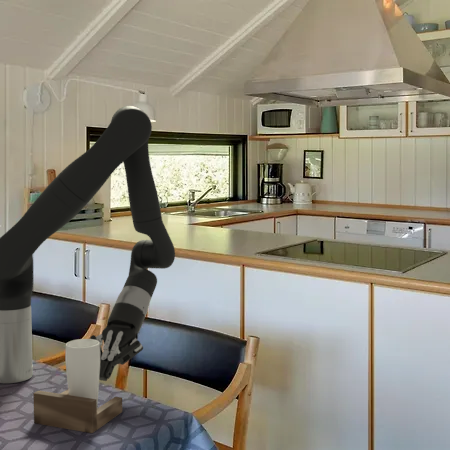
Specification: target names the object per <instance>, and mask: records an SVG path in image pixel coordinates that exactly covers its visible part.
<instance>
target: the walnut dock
mask: <svg viewBox="0 0 450 450" xmlns="http://www.w3.org/2000/svg"><path fill="white" fill-rule="evenodd" d="M32 395H33V398H32V399H33V423H34V424H38V425H42V426H49V427H54V428H60V429H64V430H65V429H67V430H70V431H76V432H83V433H87V434H88V433H89V434H93V433H95V432H97V431H98V430H99V429H101V428H102V427H103V426H105V425H106V424H108V422H110V421H112V420H113V419H114V418H116V417H118V416H119V415H120V414H121V413H123V397H120V396H114V397H112V398H111V399H109V400H108V401H106V402H105V403H103V404H102V405H100V406H99V407H98V408H97V406H98V404H97V399H91V398H85V397H78V396H72V395H69V391H68V388H67V389H66V390H64V391H62V392H60V393H58V392H57V393H56V392H51V391H45V390H44V391H43V390H37V391H35V392H33V394H32Z"/></svg>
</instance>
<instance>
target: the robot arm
mask: <svg viewBox="0 0 450 450" xmlns="http://www.w3.org/2000/svg"><path fill="white" fill-rule="evenodd" d="M152 128H153V127H152V121H151V119H150V117H149V116H148V114H147V112H145V111H144V110H143V109H141V108H139V107H138V106H137V107H136V106H133V105H126V106H123V107H121V108H119V109H117V110H116V111H115V113H113V116H112V118H111V120H110V122H109V125H108V126H107V127H106V128H105V130H104V131H103V133H102V134H101V135H100V137H98V139H97V140H96V141H95V143H94V144H93V145H92V146H91V147H90V148H89V149H88V150H86V151H85V152H84V153H83V154H81V155H80V156H79V157H77V158H76V159H74V160H73V161H72V162H71V163H70V164H68V165H67V166H66V167H65V168H63V170H61V172H60V173H58V175H57V176H56V177H55V178H54V179H52V180H51V182H50V183H49V184H48V185H47V186H46V188H45V189H44V190H43V191H42V193H40V194H39V196H38V197H37V198H36V199H35V201H34V202H33V203H32V204H31V205H30V206H29V208H28V209H27V210H26V212H25V213H24V214H23V216H21V218H20V219H19V220H18V221H17V222H16V223H15V224H14V225H13V226H12V227H10V229H8V230H7V231H6V232H5V233H4V234H3V235H2V236H1V237H0V384H13V383H14V384H15V383H22V382H25V381H27V380H29V379H31V378H32V377H33V368H34V365H33V335H32V334H33V333H32V331H33V330H32V326H33V325H32V324H33V323H32V296H33V290H34V257H33V256H34V254H35V252H36V251H37V250H38V249H39V248H40V246H41V245H42V244H43V243H44V242H45V241H46V240H47V239H49V238H50V237H51V236H52V235H54V234H55V233H56V232H58V231H59V230H60V229H62V228H63V227H65V225H67V224H68V223H69V222H70V221H71V220H72V219H73V218H75V217H76V216H77V215H78V214H79V213H80V212H81V211H82V210H83V209H84V208H85V207H86V205H88V204H89V202H90V201H91V200H92V199H93V198H94V197H95V195H96V194H97V193H98V192H99V191H100V190H101V188H102V187H103V186H104V185H105V183H107V180H108V179H109V178H110V177H111V175H112V174H113V173H114V172H115V170H117V168H118V167H120V165H121V164H122V163H123V168H124V173H125V179H126V185H127V187H126V188H127V194H128V202H129V209H130V213H131V218H132V223H133V229H134V230H135V232H137V233H140V234H143V235H146V236H148V237H149V239H141V240H139V241H137V242H136V243H135V244H134V245H133V247H132V249H131V253H130V264H129V270H128V276H127V278H126V281H125V282H124V285H123V287H122V289H121V292H120V293H119V294H118V296H117V298H116V301H115V303H114V305H113V307H112V310H111V312H110V314H109V316H108V319H107V324H106V325H105V326H106V327H105V328H103V330H102V331H101V333H100V334H98V335H94V334H92V335H91V336H90V338H89V339H94V340H97V341H99V342H100V375H99V381H103V382H107V381H108V379H110V378H111V376H112V374H113V371H114V368H115V367H116V366H117V365H125V364H126V363H128V361H130V360H131V359H133V358H134V357H135V356H137V355H138V354H139V353H141V352H142V351H143V349H144V346H143V345H142V343H141V341H139V340H138V339H139V337H138V336H139V335H138V334H139V333H140V331H141V329H142V326H143V323H144V321H145V318H146V315H147V313H148V311H149V308H150V303H151V301H152V297H153V295H154V293H155V289H156V287H157V285H158V278H157V275H156V274H155V273H154V272H153V271H151V270H149V269H168V268H170V267H171V266H173V263H174V261H175V259H176V258H175V257H176V250H175V247H174V244H173V241H172V238H171V237H170V235H169V233H168V230H167V228H166V227H165V223H164V221H163V217H162V210H161V205H160V199H159V195H158V191H157V186H156V184H155V180H154V175H153V170H152V167H151V166H152V165H151V161H150V152H149V139H150V137H151V135H152V132H153V131H152ZM103 343H104V345H103ZM102 346H103V347H102ZM102 348H103V350H102Z"/></svg>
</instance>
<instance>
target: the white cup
mask: <svg viewBox="0 0 450 450" xmlns="http://www.w3.org/2000/svg"><path fill="white" fill-rule="evenodd" d="M64 353H65V356H64V357H65V369H66V370H65V373H66V381H67V389H68V391H69V395H72V396H78V397H85V398H91V399H97V408H99V407H98V404H99V403H98V400H99V387H100V380H99V375H100V342H99V341H97V340H94V339H90V338H80V339H79V338H78V339H73V340H70V341H68V342H66V343H65V352H64Z"/></svg>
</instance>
